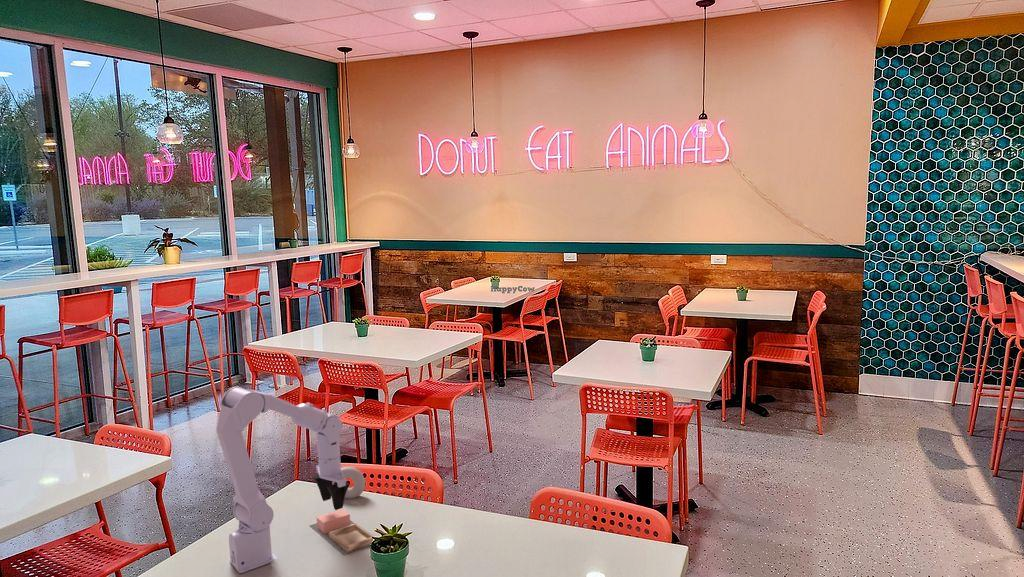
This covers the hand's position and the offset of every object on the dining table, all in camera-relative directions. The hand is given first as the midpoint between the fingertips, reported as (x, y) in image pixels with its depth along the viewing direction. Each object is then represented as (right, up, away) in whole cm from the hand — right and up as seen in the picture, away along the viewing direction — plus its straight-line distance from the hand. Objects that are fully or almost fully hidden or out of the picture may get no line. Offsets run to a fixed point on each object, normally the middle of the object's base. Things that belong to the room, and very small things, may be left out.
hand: (332, 504), depth 185 cm
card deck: (0, -6, +1) cm, 6 cm away
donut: (0, -5, +20) cm, 20 cm away
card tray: (+7, -7, -8) cm, 13 cm away
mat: (+4, -7, -4) cm, 9 cm away
